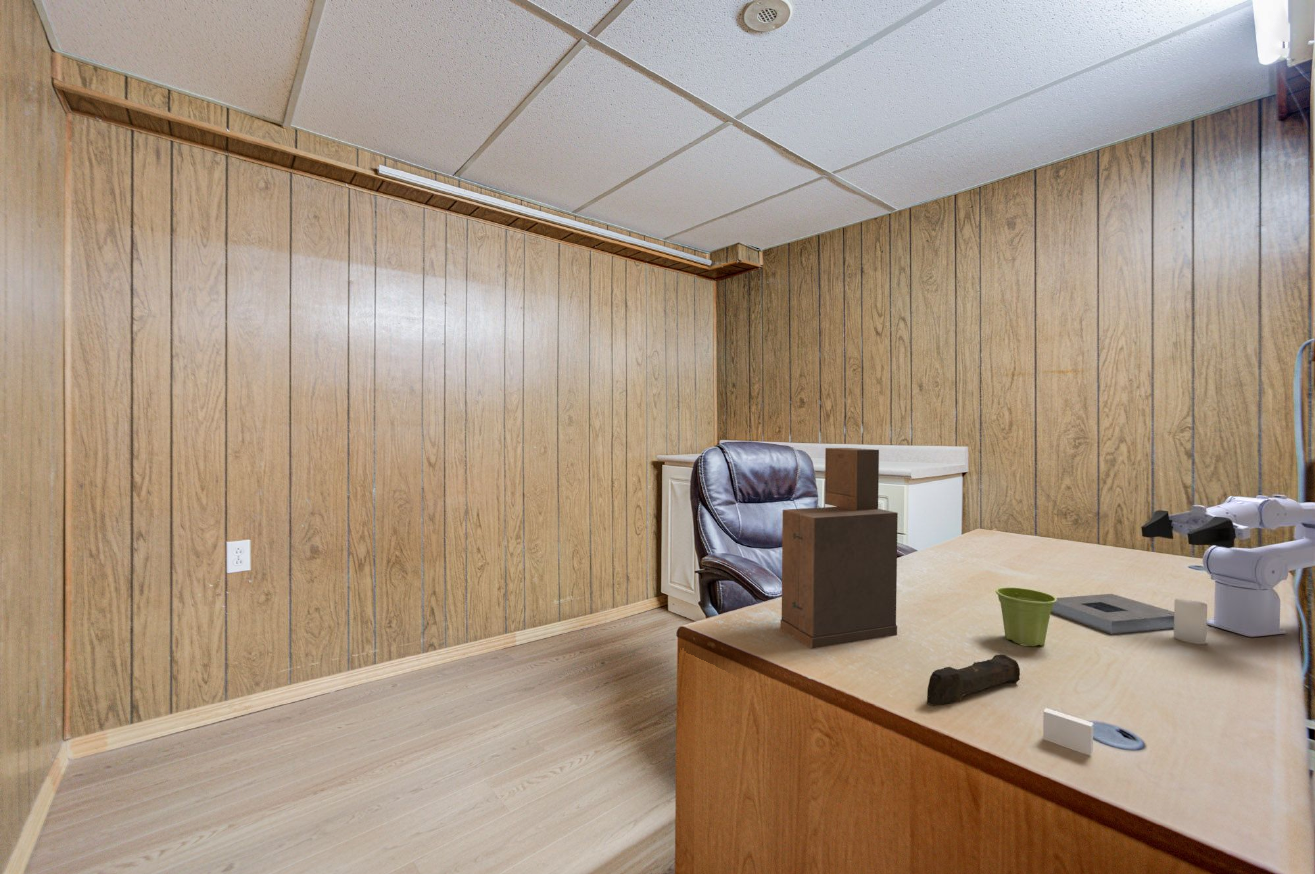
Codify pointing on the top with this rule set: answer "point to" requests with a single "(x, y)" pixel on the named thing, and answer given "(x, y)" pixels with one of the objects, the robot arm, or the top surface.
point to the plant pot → (1025, 614)
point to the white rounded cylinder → (1190, 621)
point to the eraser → (1068, 731)
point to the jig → (1113, 613)
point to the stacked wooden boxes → (841, 558)
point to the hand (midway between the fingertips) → (1166, 535)
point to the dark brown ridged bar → (970, 679)
